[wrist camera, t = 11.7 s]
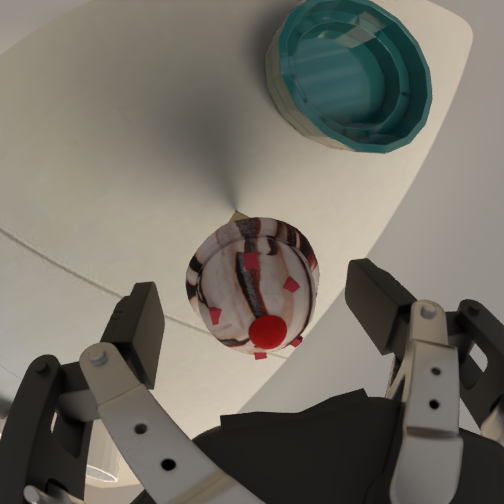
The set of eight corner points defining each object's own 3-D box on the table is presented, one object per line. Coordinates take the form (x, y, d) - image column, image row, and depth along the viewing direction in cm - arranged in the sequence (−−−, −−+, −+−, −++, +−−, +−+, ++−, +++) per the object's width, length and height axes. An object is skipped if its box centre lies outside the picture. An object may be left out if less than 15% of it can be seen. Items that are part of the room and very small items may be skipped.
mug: (64, 420, 32) (52, 462, 23) (93, 407, 30) (80, 460, 21) (98, 441, 35) (91, 482, 26) (133, 431, 33) (127, 482, 24)
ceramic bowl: (259, 10, 15) (271, -18, 10) (388, 32, 16) (421, 19, 11) (268, 148, 20) (284, 151, 15) (397, 151, 21) (433, 158, 16)
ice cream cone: (274, 238, 23) (347, 379, 9) (207, 250, 23) (202, 408, 9) (266, 171, 20) (363, 246, 7) (193, 183, 20) (148, 284, 7)
